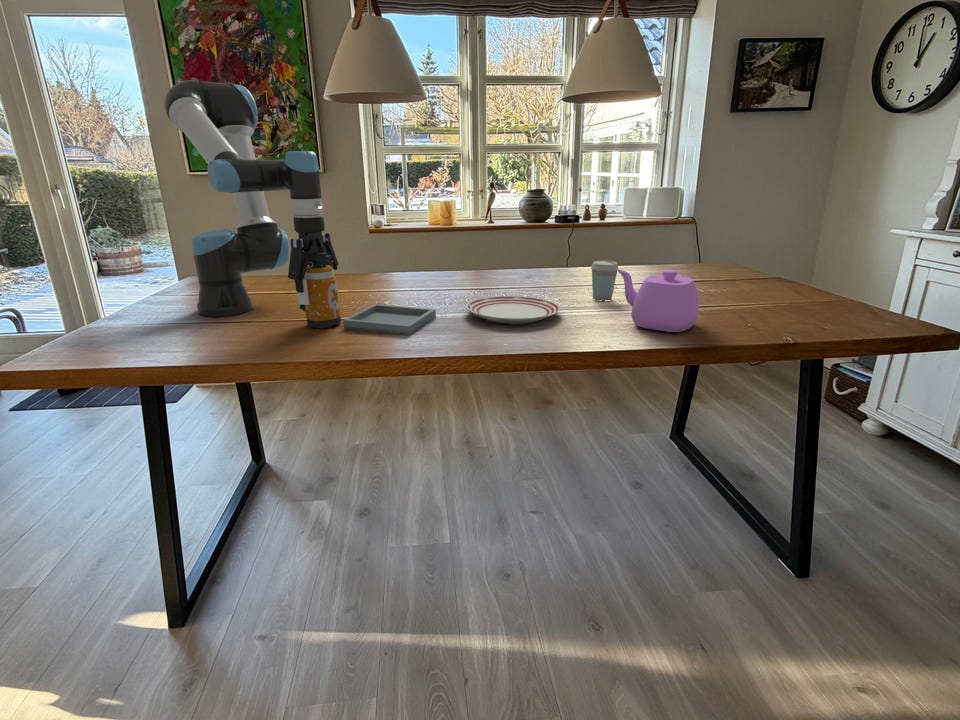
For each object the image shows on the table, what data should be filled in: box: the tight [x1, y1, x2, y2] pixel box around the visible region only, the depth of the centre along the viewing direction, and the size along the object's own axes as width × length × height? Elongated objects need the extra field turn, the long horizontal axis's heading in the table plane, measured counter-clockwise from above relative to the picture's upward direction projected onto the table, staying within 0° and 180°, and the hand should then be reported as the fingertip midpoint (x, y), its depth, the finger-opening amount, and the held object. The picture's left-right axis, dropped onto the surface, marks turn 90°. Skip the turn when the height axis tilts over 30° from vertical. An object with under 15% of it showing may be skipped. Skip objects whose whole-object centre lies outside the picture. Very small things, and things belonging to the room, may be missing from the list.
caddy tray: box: [342, 303, 437, 336], centre depth 144 cm, size 19×17×2 cm
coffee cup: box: [590, 260, 620, 301], centre depth 166 cm, size 8×9×12 cm
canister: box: [298, 252, 342, 329], centre depth 140 cm, size 9×11×20 cm
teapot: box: [616, 268, 700, 333], centre depth 142 cm, size 23×21×15 cm
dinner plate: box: [465, 295, 561, 325], centre depth 152 cm, size 28×27×3 cm
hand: (318, 298), depth 141 cm, fingers open, 12 cm apart
